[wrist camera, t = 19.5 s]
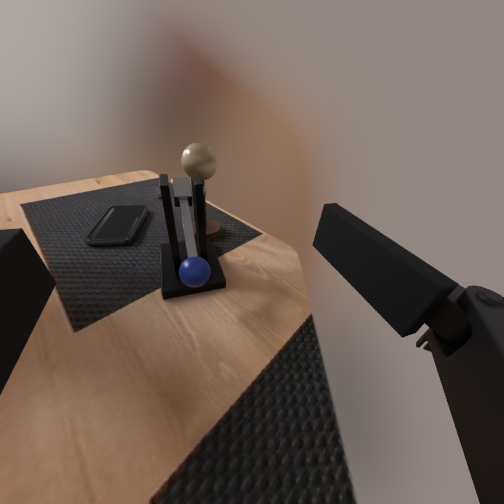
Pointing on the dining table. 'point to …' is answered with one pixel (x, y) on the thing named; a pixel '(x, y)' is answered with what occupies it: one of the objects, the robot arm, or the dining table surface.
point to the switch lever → (189, 237)
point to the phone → (118, 226)
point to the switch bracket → (177, 250)
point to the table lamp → (202, 178)
